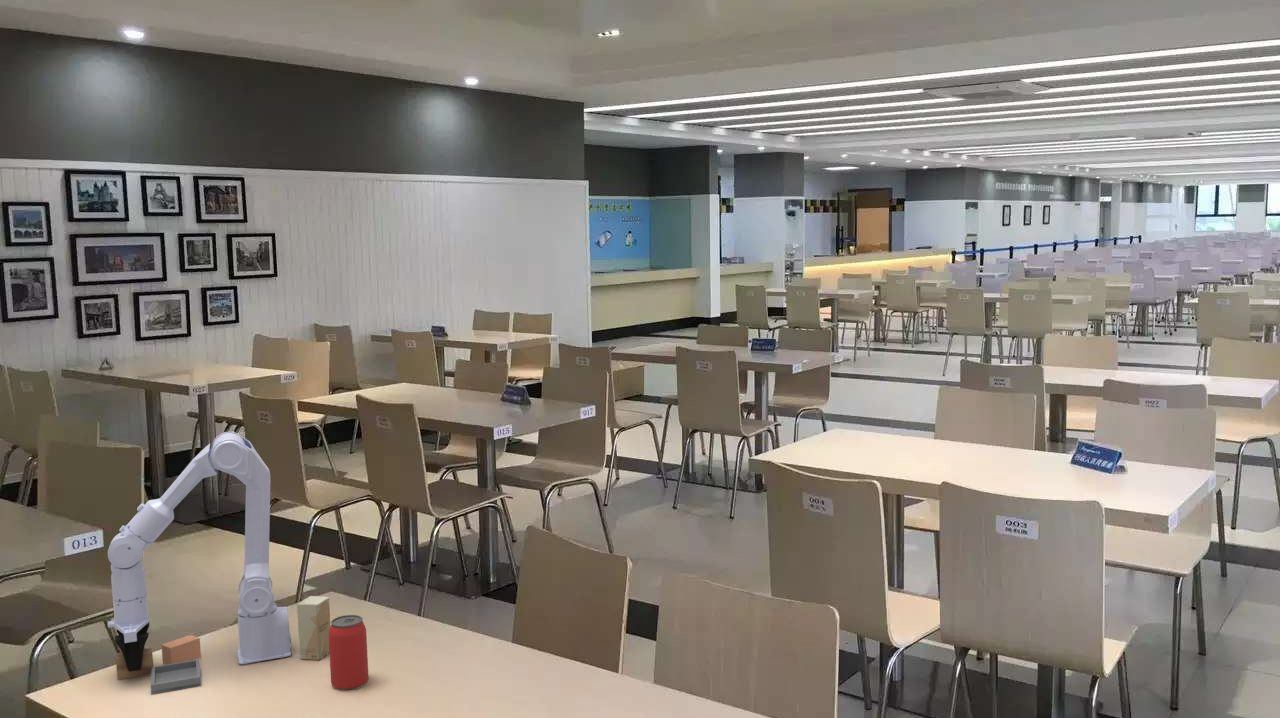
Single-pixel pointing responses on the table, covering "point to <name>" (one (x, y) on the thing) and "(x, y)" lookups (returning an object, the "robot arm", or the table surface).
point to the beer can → (348, 652)
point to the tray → (175, 676)
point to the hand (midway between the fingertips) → (135, 666)
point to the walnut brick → (145, 670)
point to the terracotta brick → (181, 650)
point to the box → (314, 627)
